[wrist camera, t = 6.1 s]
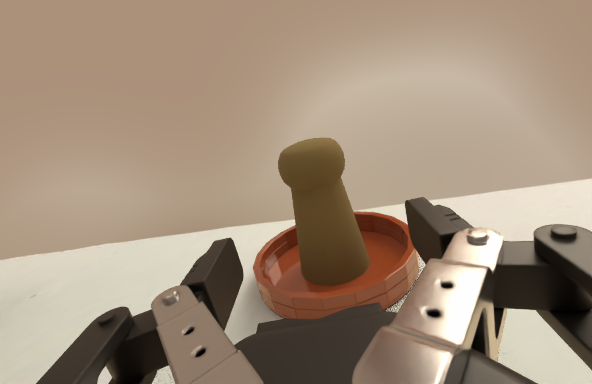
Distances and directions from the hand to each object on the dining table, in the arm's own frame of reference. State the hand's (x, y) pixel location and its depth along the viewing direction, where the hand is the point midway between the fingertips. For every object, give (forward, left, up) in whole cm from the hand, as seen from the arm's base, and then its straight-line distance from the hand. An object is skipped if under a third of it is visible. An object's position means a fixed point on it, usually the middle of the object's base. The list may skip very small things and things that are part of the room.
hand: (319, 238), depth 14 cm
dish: (0, +11, -8) cm, 14 cm away
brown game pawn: (0, +11, -8) cm, 14 cm away
